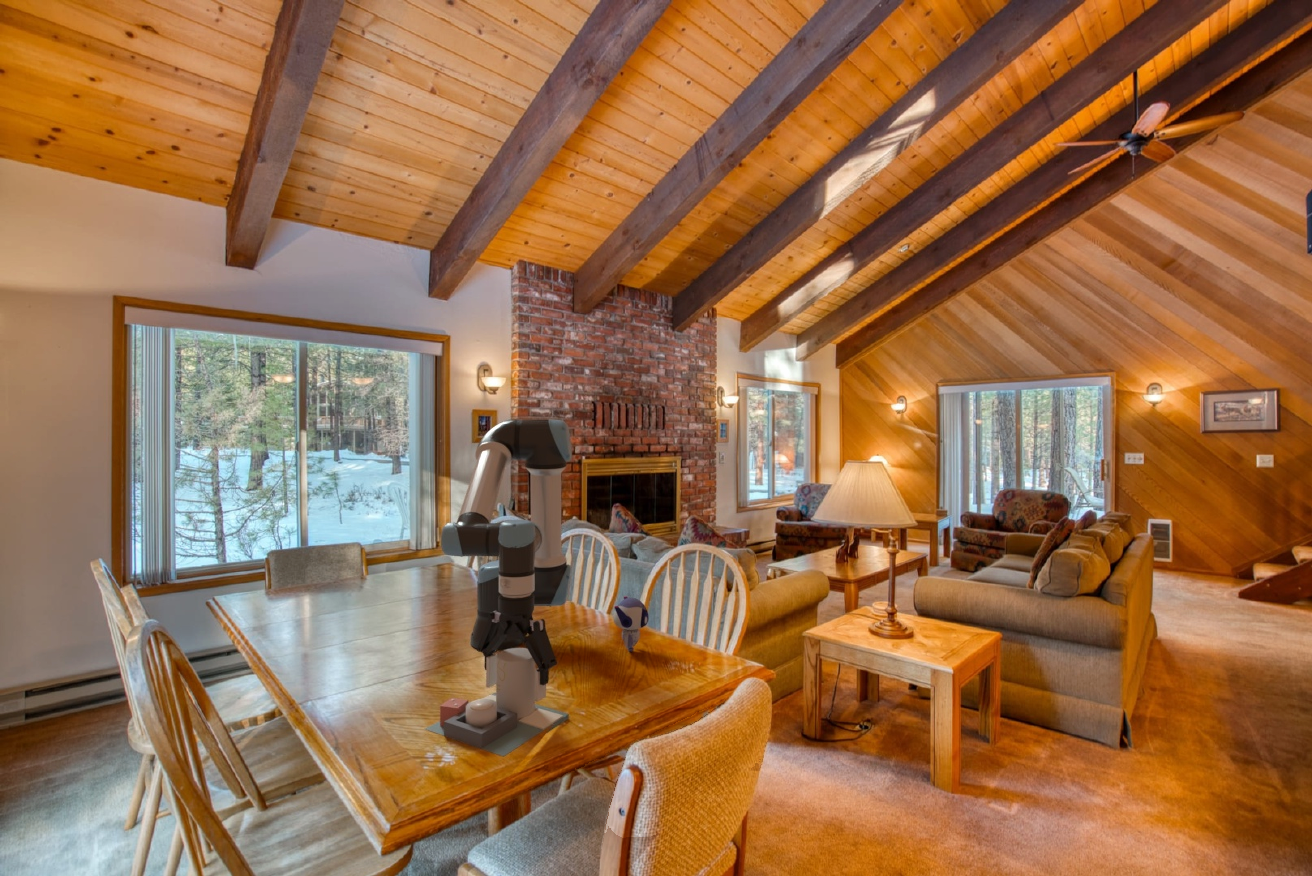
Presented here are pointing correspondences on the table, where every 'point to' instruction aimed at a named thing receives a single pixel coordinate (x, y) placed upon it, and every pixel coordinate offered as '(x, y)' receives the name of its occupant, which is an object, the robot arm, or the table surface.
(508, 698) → the white cylinder
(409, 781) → the table surface
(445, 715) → the die
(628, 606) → the toy
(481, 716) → the dome
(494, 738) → the board
